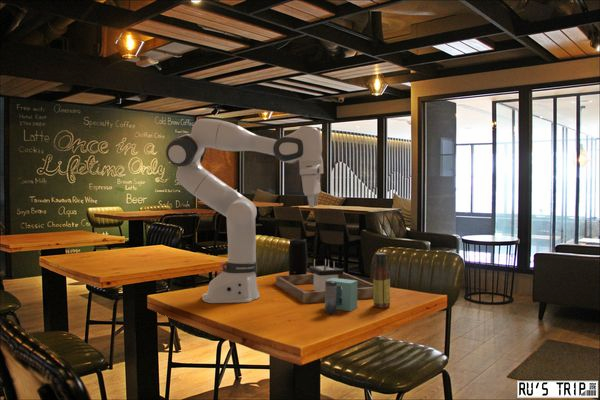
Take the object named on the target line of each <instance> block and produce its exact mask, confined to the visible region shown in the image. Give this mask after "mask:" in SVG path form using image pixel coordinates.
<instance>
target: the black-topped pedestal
mask: <svg viewBox="0 0 600 400" xmlns="http://www.w3.org/2000/svg"><path fill="white" fill-rule="evenodd" d="M313 260H314V261H313V265H312V266H311V265H310V266H309V267H308V270H309V272H311V274H314V283H313V291H325V282H326V280H328V279H331V278H338V275H340V274H343V272H344V269H343V268H339V267H335V261H333V260H327V258H324V259H313Z"/></svg>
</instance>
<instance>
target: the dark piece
mask: <svg viewBox="0 0 600 400" xmlns="http://www.w3.org/2000/svg"><path fill="white" fill-rule="evenodd" d="M341 303H342V296H340V297H338V298H337V282H336V281H326V282H325V302H324V314H325V315H333V316H334V315H336V314H337V309H336V306H337V305H339V304H341Z"/></svg>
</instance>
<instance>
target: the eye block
mask: <svg viewBox="0 0 600 400" xmlns="http://www.w3.org/2000/svg"><path fill="white" fill-rule="evenodd" d="M326 281H336V282H337V298H338V297H340V296H341V289H342V303H341V304H339V305H337V306H336V310H340V311H346V312H352V311H353V310H355V309H358V299H357V283H358V281H356V280H347V279H339V278H331V279H328V280H326Z"/></svg>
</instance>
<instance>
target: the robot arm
mask: <svg viewBox="0 0 600 400" xmlns="http://www.w3.org/2000/svg"><path fill="white" fill-rule="evenodd" d="M207 148H209V149H213V150H214V149H215V150H220V151H226V152H249V151H250V152H257V153H261V154H265V155H266V154H267V155H271V156H274V157H275V158H276V159H277V160H278V161H280V162H283V163H286V164H289V165H290V164H291V165H292V164H296V163H299V164H298V165H299V176H301V184H302V186H301V187H302V191H303V194H304V196H307V197H306V198H307V202H308V207H309V208H312V209H314V207H317V206H318V204H319V203H318V201H319V200H318V199H319V194H320V193H321V190H322V189H321V175H322V174H324V160H323V157H322V155H323V154H322V152H323V140H322V135H321V131H320V130H319V129H318V128H316V127H314V126H308V125H307V126H306V125H303V126H302V125H301V126H299V128H297V129H296V130H295V131H293V132H292V133H290V134H286V135H284V136H281V137H279V138H278V139H275V138H272V137H271V138H269V137H267V136H261V135H258V134H256V133H253V132H251V131H249V130H247V129H246V128H245V127H242V126H241V125H237V124H236V123H233V122H229V121H226V120H221V119H213V118H198V119H197V120H196V121H195V122H193V125H192V128H191V132H189V133H185V134H181V135H180V136H178V137H176V138H174V139H173V140H171V141H170V142H169V144H168V145H167V146H166V149H165V155H166V158H167V161H169V163H170V164H172V165H173V166H176V167H178V168H177V170H176V173H175V178H176V181H177V182H178V183H179V184H180V185H181V186H182V187H183V188H184V189H185V190H186V191H187V192H189V193H190V194H191V195H193V196H194V197H195V198H197V199H198V200H199V201H201V202H202V203H204V205H206V206H208V207H209V208H210V209H213V210H214V211H216V212H218V213H219V214H221V215H222V216H224V217H226V232H227V233H226V234H227V235H226V237H227V261H226V262H224V261H221V262H220V263H219V266H220V267H221V268H222V272H220V273H219V274H217V276H216V277H214V278H213V279H212V280H211V281H209V284H208V288H207V292H206V293H203V294H202V295H201V300H202V301H203V302H205V303H209V304H230V303H231V304H233V303H250V302H251V301H254V300H256V299H257V300H258V299H259V298H260V293H259V290H258V289H259V288H258V283H257V275H258V263H257V259H256V258H257V256H256V255H257V252H256V251H257V238H256V237H257V236H256V234H257V233H256V232H257V231H256V218H257V214H258V213H257V212H258V210H257V206H256V205H255V203H254V202H252V201H251V200H250V199H249V198H247V197H245V196H244V195H243V194H241V193H240V192H238V191H237V190H235V189H234V188H232V187H231V186H229V185H228V184H227V183H225V182H224V181H222V180H221V179H220V178H218V177H217V176H215V175H214V174H213V173H211V172H210V171H209V170H207V169H206V168H204V167H203V165H202V162H203V160H204V157H205V154H206V151H207Z"/></svg>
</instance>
